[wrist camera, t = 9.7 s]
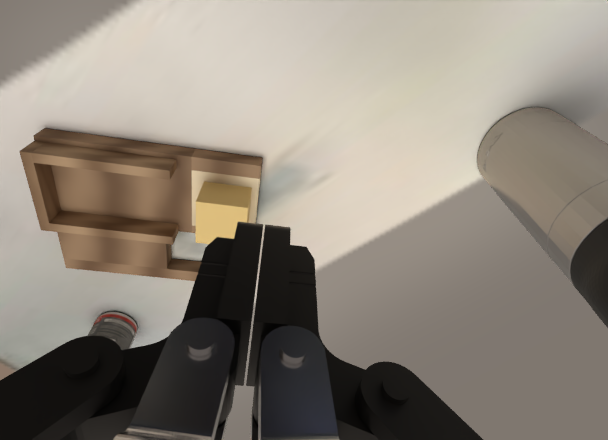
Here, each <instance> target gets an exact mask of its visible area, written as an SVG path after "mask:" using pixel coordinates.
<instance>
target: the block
mask: <svg viewBox="0 0 608 440" xmlns="http://www.w3.org/2000/svg"><path fill="white" fill-rule="evenodd" d="M251 192H252V188H251V187H243V186H235V185H227V184H219V183H212V182H204V183H203V185H202V188H201V190H200V192H199V195H198V197H197V200H196V243H205V244H210V243H211V242H212V241H213V240H214V239H215V238H216V237H222V238H231V239H234V236H235V232H236V227H237V223H238V222H247V223H249V213H250V202H251Z"/></svg>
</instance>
